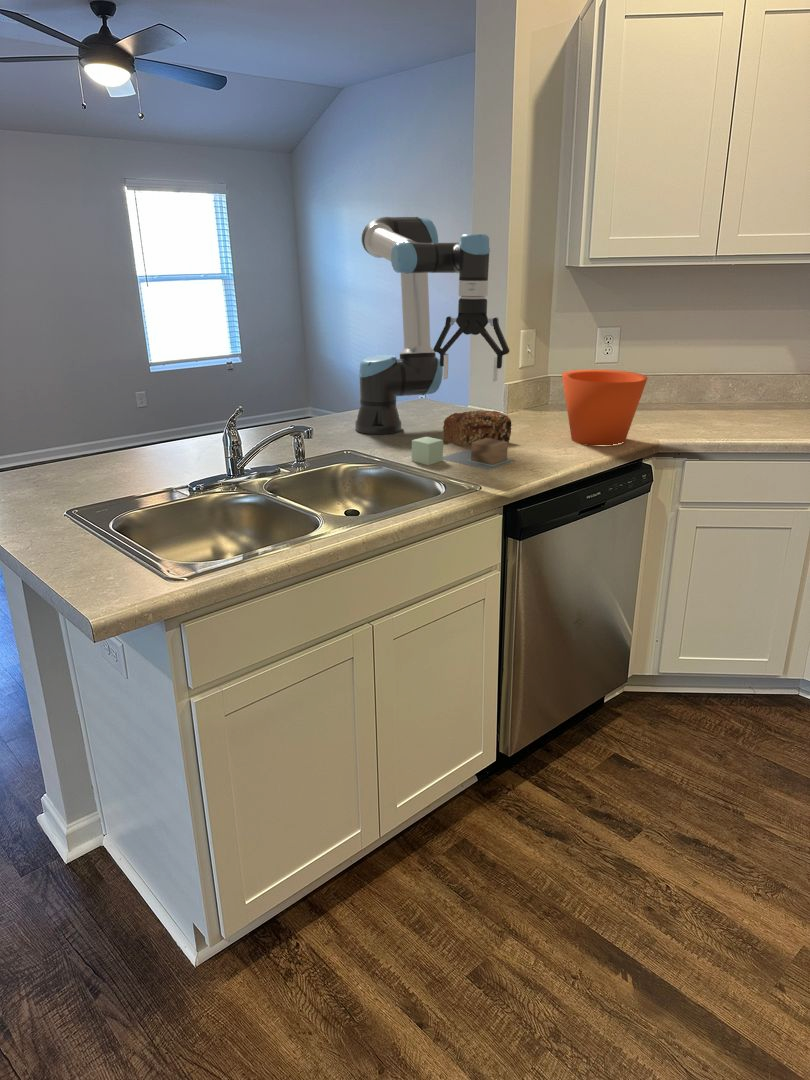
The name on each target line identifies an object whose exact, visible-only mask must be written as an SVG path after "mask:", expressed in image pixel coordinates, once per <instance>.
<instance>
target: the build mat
mask: <svg viewBox="0 0 810 1080" xmlns="http://www.w3.org/2000/svg"><path fill="white" fill-rule="evenodd" d="M443 461H447V462H448V461H449V462H451V463H457V464H461V465H464V466H470V467H474V468H477V469H481V470H482V469H483V470H487V471H489V470H492V469H494V468H498V467H501V466H504V465H506V464H510V463H513V462H515V461H517V460H516V459H512V458H508V457H507V460H505V461H502V462H499V463H496V464H493V465H490V464H485V463H481V462H476V461H472V460H471V449H465V450H460V451H459V452H455V453H451V454H448V455H447V454H446V455H444V456H443Z"/></svg>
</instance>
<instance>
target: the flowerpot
mask: <svg viewBox="0 0 810 1080" xmlns="http://www.w3.org/2000/svg"><path fill="white" fill-rule="evenodd" d="M561 376H562V383H563V390H564V397H565V404H566V410H567V418H568V425H569V432H570V438H571V441H573V442H574V443H576V444H579V443H580V445H583V444H587V445H586V446H589V445H613V444H618V443H622V442H624V441H625V442H626V440H627V437H628V434H629V431H630V429H631V426H632V423H633V421H634V417H635V414H636V412H637V409H638V406H639V404H640V401H641V399H642V398H641V397H642V395H643V393H644V390H645V387H646V384H647V381H648V379H649V378H648V375H645V374H642V373H637V372H633V371H626V370H625V371H624V370H616V369H615V370H614V369H575V370H568V371H564V372H563V373H561Z"/></svg>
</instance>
